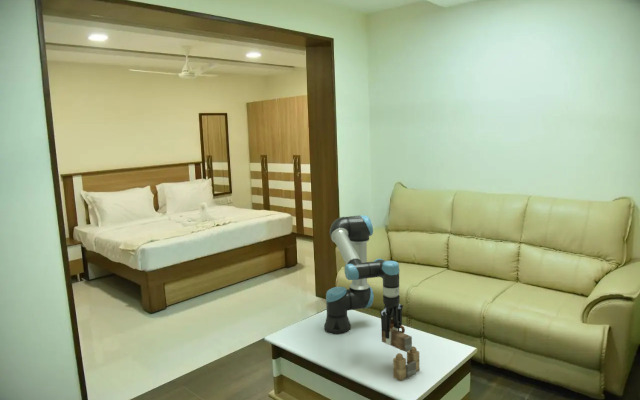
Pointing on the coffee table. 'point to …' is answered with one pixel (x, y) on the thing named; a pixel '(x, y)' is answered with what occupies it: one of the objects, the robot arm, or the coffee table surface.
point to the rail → (399, 340)
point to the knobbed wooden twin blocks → (406, 370)
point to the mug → (400, 326)
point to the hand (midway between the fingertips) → (392, 342)
